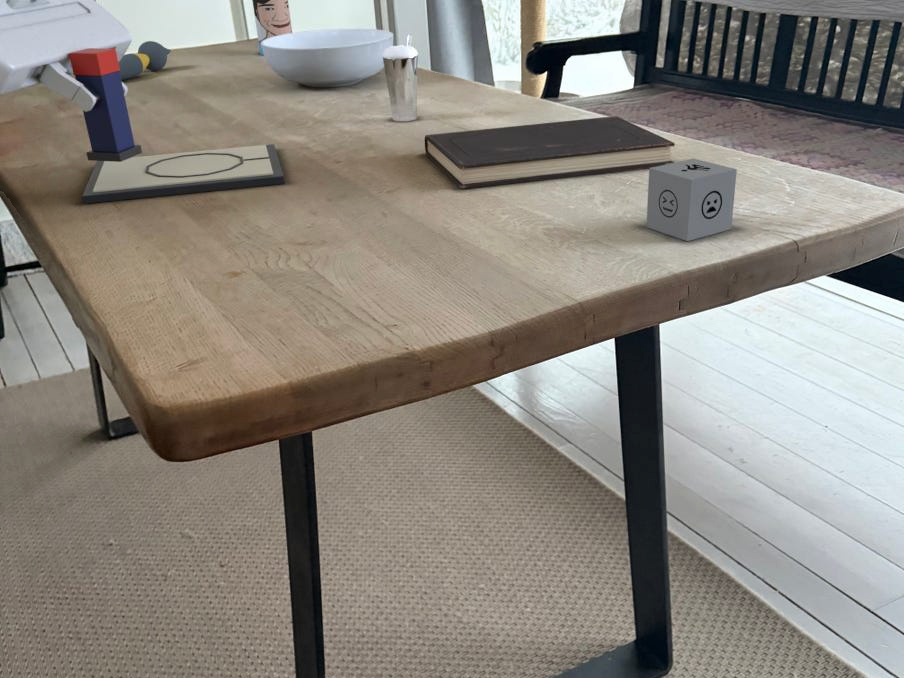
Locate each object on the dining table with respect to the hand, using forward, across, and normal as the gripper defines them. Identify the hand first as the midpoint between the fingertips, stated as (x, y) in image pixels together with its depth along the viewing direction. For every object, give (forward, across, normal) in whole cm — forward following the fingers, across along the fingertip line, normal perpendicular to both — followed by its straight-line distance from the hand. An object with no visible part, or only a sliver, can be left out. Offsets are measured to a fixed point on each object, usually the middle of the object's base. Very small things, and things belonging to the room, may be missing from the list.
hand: (108, 101), depth 94 cm
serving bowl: (+3, -66, -11) cm, 67 cm away
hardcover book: (+35, -19, +21) cm, 45 cm away
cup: (-16, -99, -30) cm, 104 cm away
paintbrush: (-25, -72, -39) cm, 85 cm away
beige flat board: (+8, -8, -5) cm, 12 cm away
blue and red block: (+3, 0, -4) cm, 5 cm away
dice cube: (+47, +3, +34) cm, 58 cm away
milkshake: (+18, -39, +5) cm, 43 cm away
